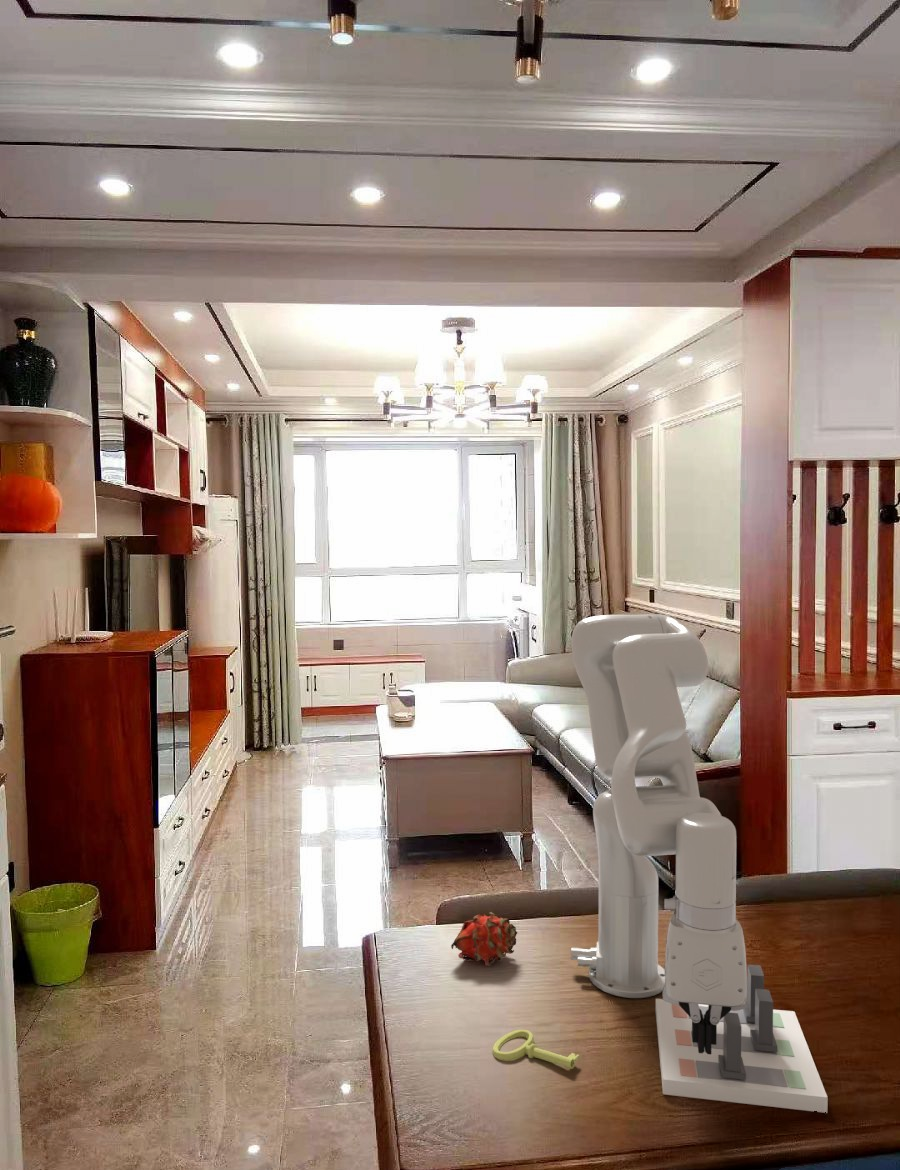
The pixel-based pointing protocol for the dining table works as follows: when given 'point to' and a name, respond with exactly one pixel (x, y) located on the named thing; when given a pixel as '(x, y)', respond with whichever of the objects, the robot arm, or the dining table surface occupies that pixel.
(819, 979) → the dining table surface
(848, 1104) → the dining table surface
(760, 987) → the far switch
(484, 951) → the dragon fruit
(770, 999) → the middle switch
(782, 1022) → the switch board
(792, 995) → the dining table surface
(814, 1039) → the dining table surface
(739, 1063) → the switch
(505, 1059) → the key
